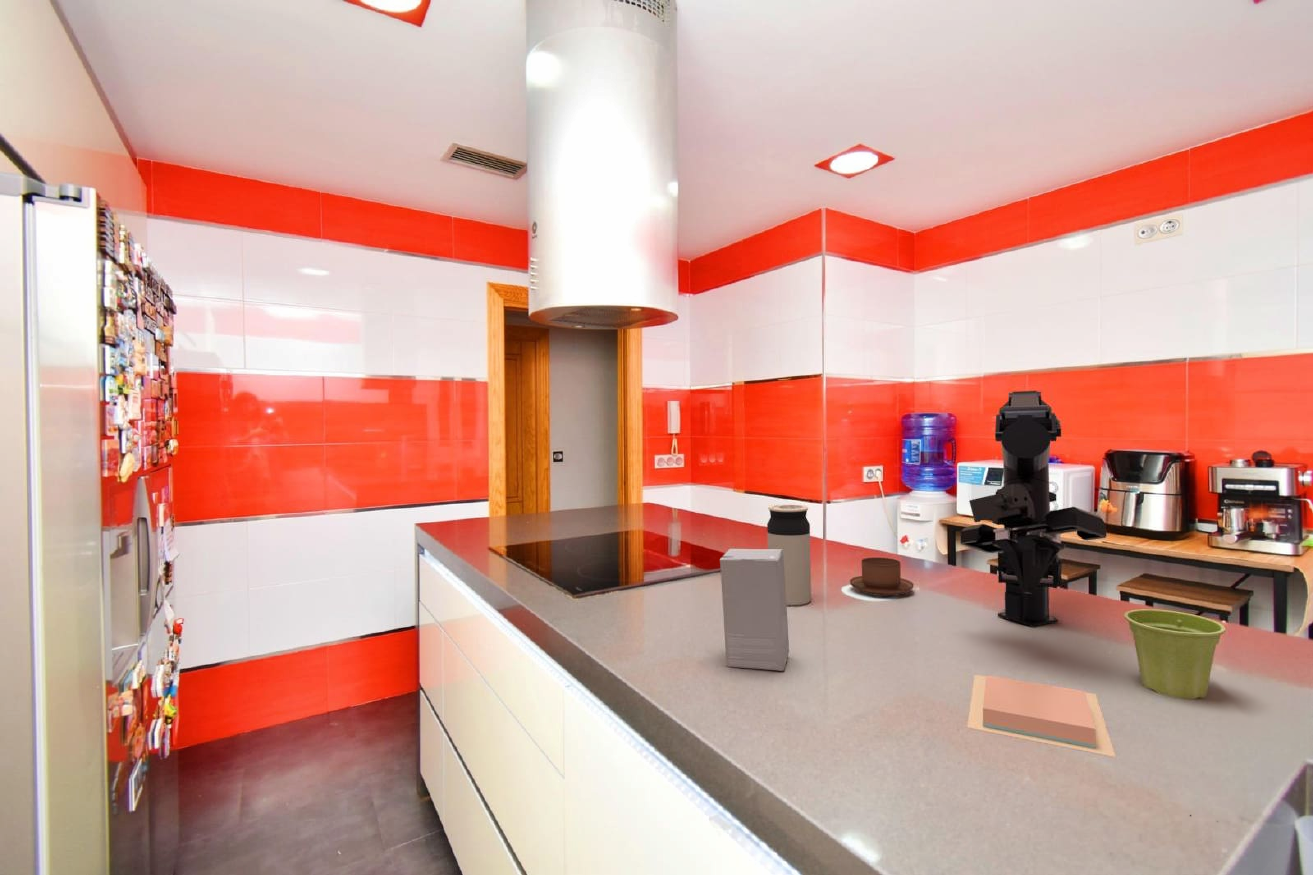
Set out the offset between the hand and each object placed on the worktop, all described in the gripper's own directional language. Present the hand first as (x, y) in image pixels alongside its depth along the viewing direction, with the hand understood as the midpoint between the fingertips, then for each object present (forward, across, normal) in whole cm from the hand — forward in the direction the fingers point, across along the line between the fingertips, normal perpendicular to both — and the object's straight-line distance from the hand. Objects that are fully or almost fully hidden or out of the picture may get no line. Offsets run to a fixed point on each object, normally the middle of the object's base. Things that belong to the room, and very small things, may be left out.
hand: (1027, 593), depth 84 cm
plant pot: (+10, +9, +13) cm, 18 cm away
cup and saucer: (-4, -40, +8) cm, 41 cm away
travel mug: (+2, -42, -11) cm, 43 cm away
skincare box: (+16, -19, -29) cm, 38 cm away
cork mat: (+16, +6, -7) cm, 18 cm away
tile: (+13, +5, -5) cm, 15 cm away
